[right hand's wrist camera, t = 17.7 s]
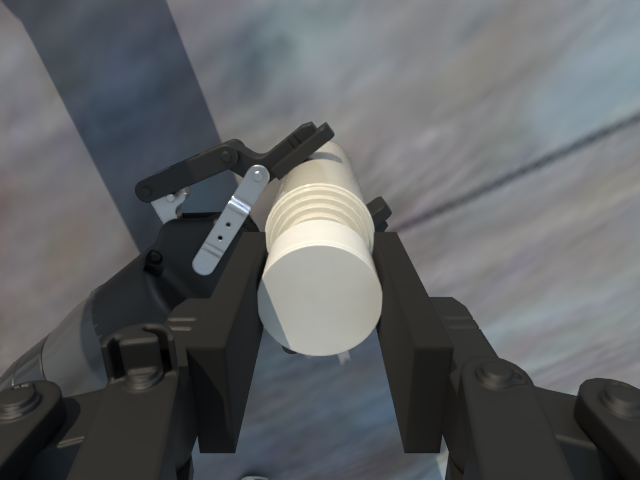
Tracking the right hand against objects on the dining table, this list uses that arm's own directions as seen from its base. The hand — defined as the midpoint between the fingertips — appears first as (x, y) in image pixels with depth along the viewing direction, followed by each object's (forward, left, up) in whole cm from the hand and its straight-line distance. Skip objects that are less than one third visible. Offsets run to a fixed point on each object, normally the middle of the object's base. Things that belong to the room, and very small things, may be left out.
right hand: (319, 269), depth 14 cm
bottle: (0, 0, -16) cm, 16 cm away
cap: (0, 0, +2) cm, 2 cm away
